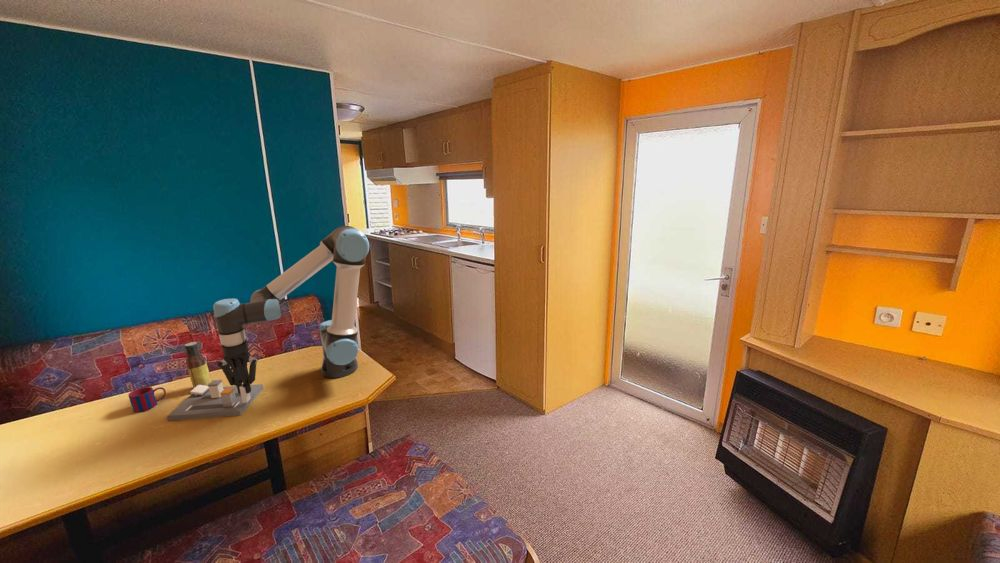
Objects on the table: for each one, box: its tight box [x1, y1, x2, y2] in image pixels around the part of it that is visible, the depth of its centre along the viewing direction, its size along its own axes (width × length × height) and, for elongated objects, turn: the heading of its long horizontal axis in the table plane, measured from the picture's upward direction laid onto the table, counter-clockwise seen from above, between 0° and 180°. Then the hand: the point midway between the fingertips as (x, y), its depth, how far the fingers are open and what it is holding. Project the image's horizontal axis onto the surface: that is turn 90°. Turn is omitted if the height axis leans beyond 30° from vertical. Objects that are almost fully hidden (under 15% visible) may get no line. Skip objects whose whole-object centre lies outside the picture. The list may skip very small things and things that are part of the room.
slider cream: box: [208, 379, 224, 398], centre depth 147 cm, size 3×3×6 cm
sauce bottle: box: [184, 341, 213, 389], centre depth 155 cm, size 7×6×20 cm
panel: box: [166, 384, 264, 422], centre depth 146 cm, size 24×18×2 cm
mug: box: [128, 386, 167, 414], centre depth 145 cm, size 7×10×7 cm
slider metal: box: [220, 388, 237, 407], centre depth 141 cm, size 3×3×6 cm
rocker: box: [189, 385, 209, 396], centre depth 150 cm, size 4×5×2 cm
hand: (246, 400), depth 142 cm, fingers closed
